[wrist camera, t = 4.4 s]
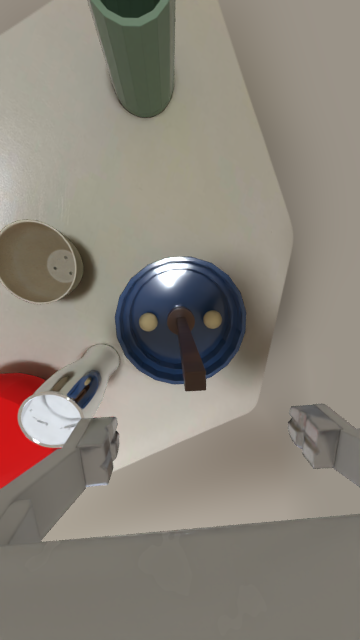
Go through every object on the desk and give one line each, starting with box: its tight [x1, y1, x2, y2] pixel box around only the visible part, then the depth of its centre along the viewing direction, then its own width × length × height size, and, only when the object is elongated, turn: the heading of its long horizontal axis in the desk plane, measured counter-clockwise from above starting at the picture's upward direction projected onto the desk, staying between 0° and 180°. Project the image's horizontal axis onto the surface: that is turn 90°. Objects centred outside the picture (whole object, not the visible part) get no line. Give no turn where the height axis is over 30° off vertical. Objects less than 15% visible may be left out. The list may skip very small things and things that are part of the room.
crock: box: [87, 0, 175, 117], centre depth 21 cm, size 8×8×10 cm
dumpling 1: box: [139, 313, 158, 331], centre depth 31 cm, size 3×3×3 cm
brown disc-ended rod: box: [167, 306, 206, 391], centre depth 23 cm, size 4×4×20 cm
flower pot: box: [0, 219, 83, 304], centre depth 27 cm, size 10×10×7 cm
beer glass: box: [18, 344, 120, 448], centre depth 27 cm, size 7×7×15 cm
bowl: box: [115, 257, 246, 384], centre depth 31 cm, size 19×19×5 cm
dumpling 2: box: [203, 310, 222, 329], centre depth 31 cm, size 3×3×3 cm
